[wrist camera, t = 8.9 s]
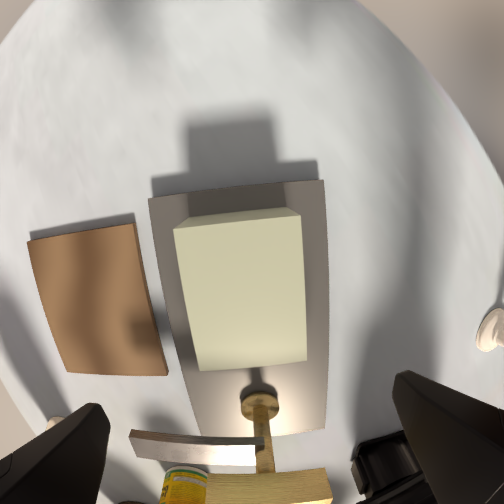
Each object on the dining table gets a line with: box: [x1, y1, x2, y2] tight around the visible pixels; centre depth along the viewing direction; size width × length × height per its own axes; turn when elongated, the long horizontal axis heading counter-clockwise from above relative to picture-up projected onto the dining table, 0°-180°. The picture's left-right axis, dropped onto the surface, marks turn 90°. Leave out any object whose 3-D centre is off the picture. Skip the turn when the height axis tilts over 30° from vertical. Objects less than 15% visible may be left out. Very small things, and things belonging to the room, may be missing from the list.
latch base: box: [148, 180, 329, 437], centre depth 21 cm, size 11×21×1 cm, turn 6°
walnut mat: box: [27, 223, 169, 376], centre depth 20 cm, size 10×12×1 cm
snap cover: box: [173, 207, 307, 371], centre depth 17 cm, size 6×8×4 cm
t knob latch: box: [129, 391, 333, 504], centre depth 17 cm, size 3×12×10 cm, turn 90°
